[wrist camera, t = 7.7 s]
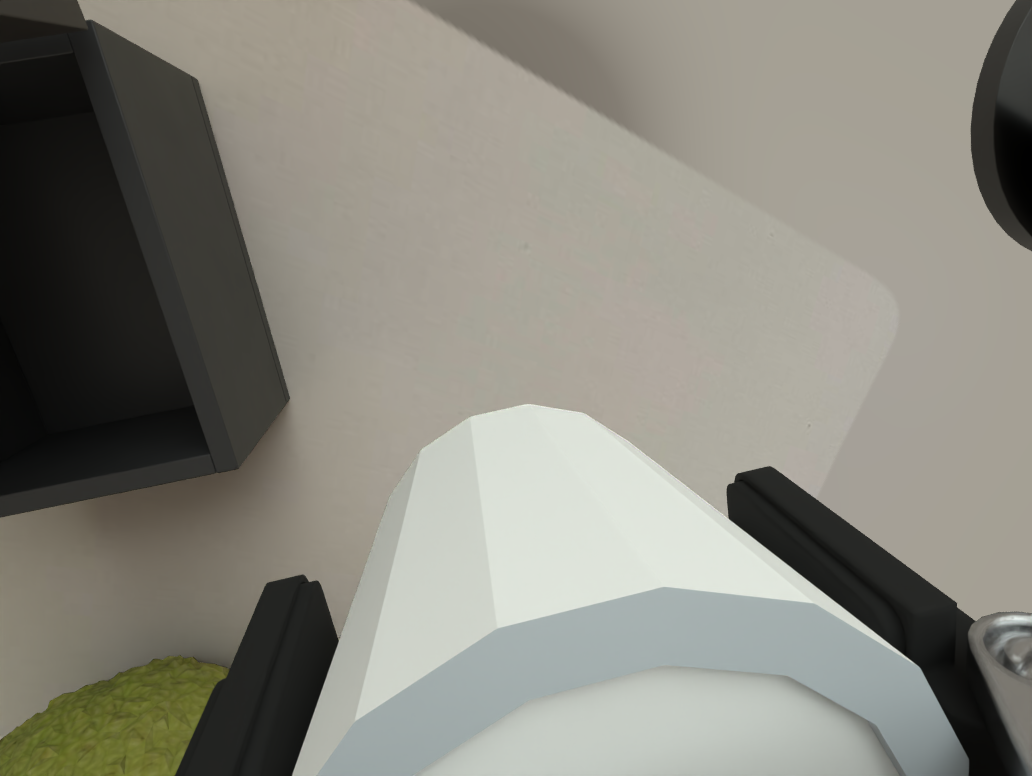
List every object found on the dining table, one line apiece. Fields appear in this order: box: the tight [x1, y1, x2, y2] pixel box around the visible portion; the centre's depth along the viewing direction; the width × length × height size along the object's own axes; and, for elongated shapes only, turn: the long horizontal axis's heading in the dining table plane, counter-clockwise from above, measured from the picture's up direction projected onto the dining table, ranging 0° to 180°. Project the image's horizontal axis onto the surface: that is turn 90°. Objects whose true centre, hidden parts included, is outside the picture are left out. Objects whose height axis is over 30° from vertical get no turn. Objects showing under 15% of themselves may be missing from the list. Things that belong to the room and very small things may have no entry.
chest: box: [0, 20, 290, 517], centre depth 24 cm, size 15×12×9 cm
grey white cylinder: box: [292, 404, 969, 776], centre depth 9 cm, size 7×7×7 cm
